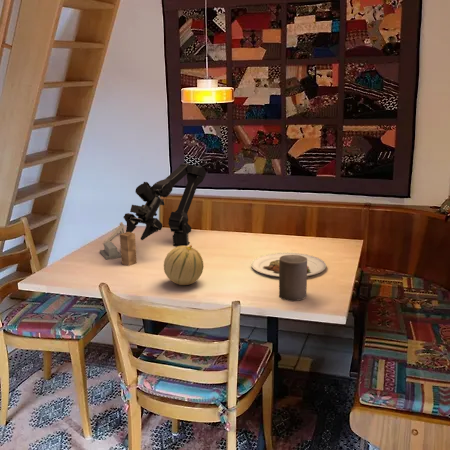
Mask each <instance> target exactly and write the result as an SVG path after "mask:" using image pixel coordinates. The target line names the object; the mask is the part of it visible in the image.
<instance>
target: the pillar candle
mask: <svg viewBox="0 0 450 450" xmlns="http://www.w3.org/2000/svg"><path fill="white" fill-rule="evenodd" d="M278 280H279V281H278V283H279V284H278V297H279V298H280V299H282V300H286V301H292V302H294V301H301V300H304V299H306V298H307V286H308V284H307V282H308V281H307V280H308V276H307V258H306V257H304V256H300V255H285V256H282V257H280V260H279V277H278Z"/></svg>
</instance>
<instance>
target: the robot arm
mask: <svg viewBox="0 0 450 450" xmlns="http://www.w3.org/2000/svg"><path fill="white" fill-rule="evenodd" d="M206 174H207V171H206V169H205V167H204V166H197V165H192V164H189V163H181V164H179V166H178V167H177V168H176V169H175V170H173V171H172V172H171V173H170V174H169V175H168V176H167V177H165V178H164V179H161V180H158V181H156V182H155V183H154V184H152V185H150V183H149V182H147V181H143V183H141V184H139V185H138V186H137V187H136V188H135V194H136V195H137V196H138V197H139V198H140V199H141V200H142V201H143V202H144V203H145V204H142V205H136V204H131V207H130V211H129V212H130V213H129V212H126V213H125V214H124V216H123V219H124V221H125V223H126V229H125V233H126V232H130V233H133V231H135V229H136V228H137V225H138V224H142V225H145V229H144V230H143V232H142V235H141V237H140V241H144V240H145V239H147V238H148V237H149V236H151V235H153V234H154V233H157V232H159V231H162V229H163V223H162V222H161V221H160V220H159V219H158V218H157V217H156V216H157V215H158V214H157V211H158V209H159V208H160V206H165V204H166V203H165V201H164V200H165V199H164V198H167V197H168V196H170V194H171V193H172V191H173V188H174V187H175V185H176V184H178V183H179V182H180V181H181V180H182V179H183V178H184V177H185V176H186V180H187V182H186V184H185V188H184V191H183V194H182V196H181V198H180V201H179V204H178V207H177V209H176V211H171V213H170V215H169V217H168V223H167V224H168V227H169V229H170V232H171V233H172V232H173V235H172V246H174V247H178V246H189V244H190V241H189V234H190V233H191V232H192V226H191V225H190V224H189V217H188V212H189V210H190V206H191V204H192V201H193V198H194V196H195V193H196V191H197V189H198V186H199V185H200V184H201V183H202V182H203V181H204V179H205V177H206V176H207V175H206ZM133 213H134V214H133Z"/></svg>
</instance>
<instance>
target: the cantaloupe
mask: <svg viewBox="0 0 450 450" xmlns="http://www.w3.org/2000/svg"><path fill="white" fill-rule="evenodd" d="M163 271H164V274H165V275H166V278H167V279H169V280H170V281H171V282H173V283H174V284H176V285H180V286H188V285H192V284H194V283H196V282H197V281H198V279H200V277H201V275H202V274H203V271H204V260H203V257H202V255H201V253H200V252H199V251H198V250H197V249H196V248H194V247H193V245H192V244H191V245H187V246H175V247H174V248H173V249H171V250H170V251H169V252H168V253H167V254H166V256H165V258H164V261H163Z"/></svg>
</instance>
